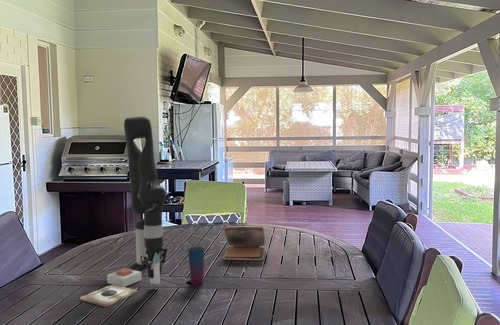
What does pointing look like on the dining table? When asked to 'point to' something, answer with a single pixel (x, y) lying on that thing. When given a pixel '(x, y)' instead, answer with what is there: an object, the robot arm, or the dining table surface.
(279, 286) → the dining table surface
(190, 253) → the cup
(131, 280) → the button housing
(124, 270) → the button
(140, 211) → the robot arm
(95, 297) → the paper board
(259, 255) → the case
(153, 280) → the marker
